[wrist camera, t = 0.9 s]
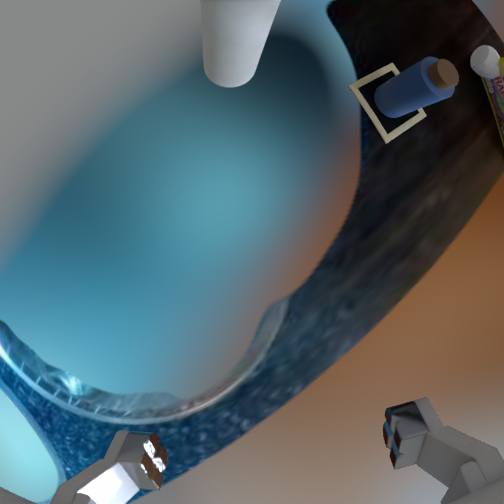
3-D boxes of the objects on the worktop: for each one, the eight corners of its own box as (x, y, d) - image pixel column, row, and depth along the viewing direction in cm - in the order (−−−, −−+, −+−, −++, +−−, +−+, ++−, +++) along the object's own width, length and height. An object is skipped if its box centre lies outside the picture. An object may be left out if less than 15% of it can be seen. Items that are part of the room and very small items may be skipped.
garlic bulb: (492, 95, 34) (515, 88, 29) (467, 72, 33) (490, 63, 28) (494, 71, 33) (515, 63, 28) (469, 48, 32) (491, 38, 27)
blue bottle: (367, 92, 32) (422, 58, 21) (391, 79, 32) (447, 46, 21) (387, 123, 33) (448, 100, 22) (410, 109, 33) (471, 85, 22)
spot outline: (348, 86, 32) (348, 85, 32) (391, 63, 32) (392, 62, 32) (385, 143, 33) (386, 143, 33) (425, 116, 34) (426, 115, 33)
